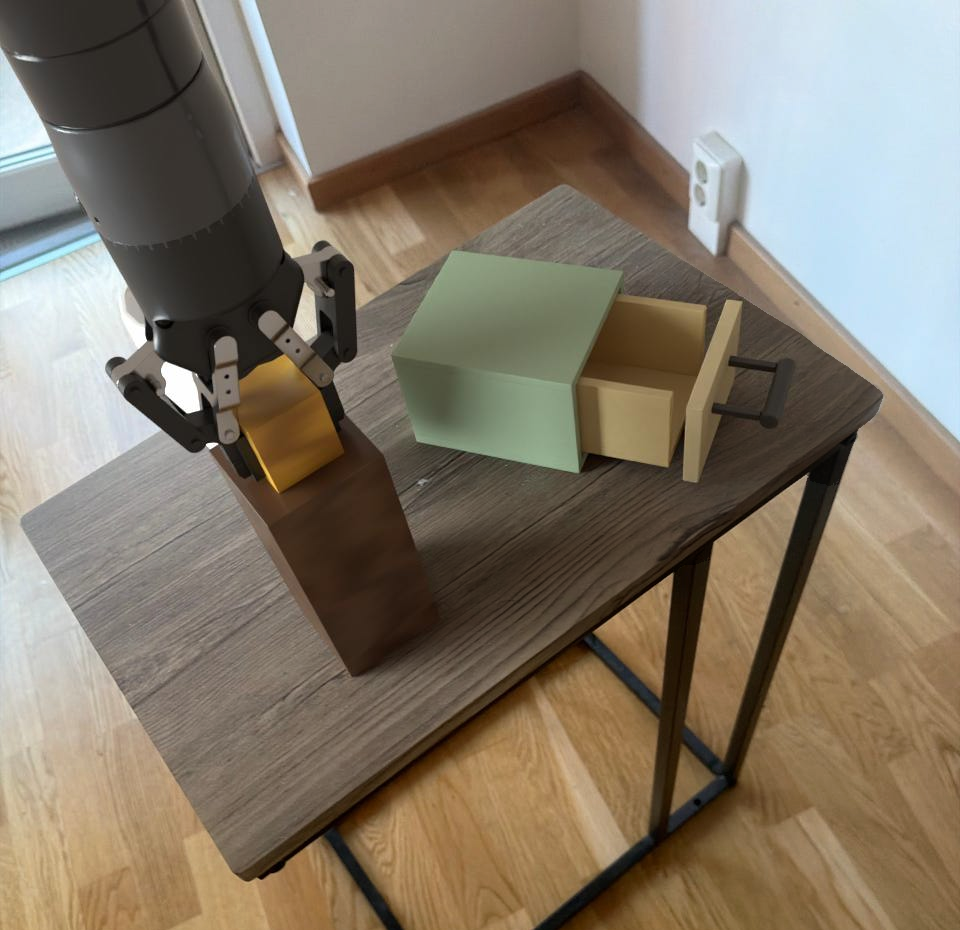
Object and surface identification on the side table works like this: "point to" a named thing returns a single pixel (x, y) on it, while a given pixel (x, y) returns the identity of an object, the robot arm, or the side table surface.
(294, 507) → the stand
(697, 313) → the drawer
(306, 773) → the side table surface
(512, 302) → the cabinet
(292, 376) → the block
